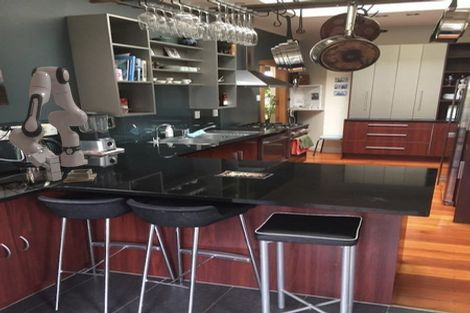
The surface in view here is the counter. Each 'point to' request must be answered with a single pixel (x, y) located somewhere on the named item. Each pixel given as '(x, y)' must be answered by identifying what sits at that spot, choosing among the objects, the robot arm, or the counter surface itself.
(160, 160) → the counter surface
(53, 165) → the syrup box
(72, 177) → the cradle jig
